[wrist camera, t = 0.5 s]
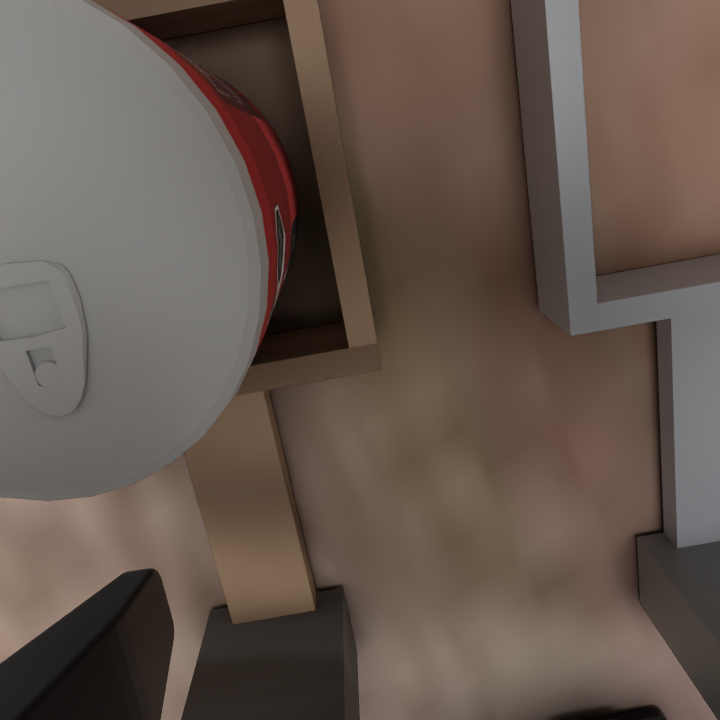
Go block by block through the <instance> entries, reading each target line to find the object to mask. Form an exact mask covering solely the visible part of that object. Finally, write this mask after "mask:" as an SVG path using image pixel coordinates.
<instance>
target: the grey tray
mask: <svg viewBox="0 0 720 720" xmlns="http://www.w3.org/2000/svg"><path fill="white" fill-rule="evenodd" d="M511 10H512V21H513V32H514V42H515V53H516V64H517V75H518V86H519V96H520V107H521V118H522V129H523V140H524V150H525V161H526V172H527V183H528V194H529V205H530V215H531V226H532V237H533V248H534V259H535V269H536V280H537V291H538V302H539V311H540V312H541V313H543V314H544V315H545V316H546V317H548V318H549V319H550V320H551V321H553V322H554V323H555V324H556V325H558V326H559V327H560V328H561V329H563V330H564V331H565V332H567V333H568V334H569V335H570V336H574V335H580V334H585V333H591V332H596V331H602V330H608V329H613V328H619V327H624V326H630V325H636V324H641V323H647V322H653V321H657V350H658V378H659V407H660V436H661V464H662V493H663V522H664V532H663V533H657V534H652V535H646V536H640V537H637V550H638V570H639V590H640V604H641V606H642V607H643V609H644V610H645V612H646V613H647V615H648V616H649V618H650V619H651V621H652V622H653V624H654V625H655V627H656V628H657V630H658V631H659V633H660V634H661V636H662V637H663V639H664V640H665V642H666V643H667V645H668V646H669V648H670V649H671V651H672V652H673V654H674V655H675V657H676V658H677V660H678V661H679V663H680V664H681V666H682V667H683V669H684V670H685V672H686V673H687V675H688V676H689V678H690V679H691V681H692V682H693V684H694V685H695V687H696V688H697V689H698V691H699V692H700V694H701V695H702V697H703V698H704V700H705V701H706V703H707V704H708V706H709V707H710V709H711V710H712V712H713V713H714V715H715V716H716V718H717V719H718V720H720V254H718V255H712V256H706V257H701V258H695V259H690V260H684V261H679V262H673V263H668V264H662V265H656V266H651V267H645V268H640V269H634V270H629V271H623V272H618V273H612V274H607V275H601V276H596V274H595V258H594V242H593V226H592V211H591V195H590V179H589V164H588V148H587V132H586V116H585V101H584V85H583V69H582V54H581V38H580V22H579V6H578V0H511Z"/></svg>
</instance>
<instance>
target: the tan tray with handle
mask: <svg viewBox="0 0 720 720" xmlns="http://www.w3.org/2000/svg"><path fill="white" fill-rule="evenodd" d="M91 1H93V2H95V3H96V4H98V5H100V6H102V7H103V8H105V9H107V10H110V11H112V12H114V13H116V14H117V15H119V16H121V17H122V18H124V19H126V20H127V21H129V22H131V23H133V24H134V25H136V26H138V27H139V28H141V29H143V30H144V31H146V32H148V33H150V34H151V35H153V36H155V37H156V38H158V39H160V40H163V39H168V38H174V37H179V36H184V35H189V34H195V33H200V32H205V31H211V30H216V29H221V28H226V27H232V26H237V25H242V24H247V23H253V22H258V21H263V20H268V19H274V18H279V17H284V16H286V18H287V23H288V29H289V34H290V39H291V45H292V50H293V55H294V60H295V66H296V71H297V76H298V81H299V87H300V92H301V97H302V102H303V108H304V113H305V118H306V123H307V129H308V134H309V139H310V145H311V150H312V155H313V160H314V166H315V171H316V176H317V181H318V187H319V192H320V197H321V202H322V208H323V213H324V218H325V224H326V229H327V234H328V239H329V245H330V250H331V255H332V260H333V266H334V271H335V276H336V281H337V287H338V292H339V297H340V302H341V308H342V313H343V318H344V322H340V323H335V324H329V325H324V326H318V327H312V328H307V329H301V330H296V331H290V332H285V333H279V334H274V335H268V336H264V337H263V339H262V341H261V343H260V345H259V347H258V350H257V352H256V354H255V356H254V358H253V361H252V363H251V365H250V367H249V369H248V371H247V373H246V375H245V377H244V379H243V382H242V384H241V386H240V388H239V390H238V392H237V393H236V395H235V396H234V397H233V399H232V400H231V401H230V402H229V404H228V405H227V406H226V408H225V409H224V410H223V412H222V413H221V414H220V415H219V417H218V418H217V419H216V421H215V422H214V423H213V425H212V426H211V427H210V428H209V429H208V430H207V432H206V433H205V434H204V436H203V437H202V438H200V439H199V440H198V441H197V442H196V443H195V444H193V445H192V446H191V447H190V448H189V449H187V450H186V451H185V452H184V456H185V460H186V463H187V467H188V470H189V474H190V477H191V481H192V484H193V487H194V491H195V494H196V498H197V501H198V505H199V508H200V512H201V515H202V519H203V522H204V526H205V529H206V533H207V536H208V539H209V543H210V546H211V550H212V553H213V557H214V560H215V564H216V567H217V571H218V574H219V578H220V581H221V585H222V588H223V591H224V595H225V598H226V602H227V605H228V607H227V608H221V609H216V610H211V611H210V615H209V618H208V622H207V626H206V630H205V633H204V637H203V641H202V644H201V648H200V652H199V656H198V659H197V663H196V667H195V670H194V674H193V678H192V682H191V685H190V689H189V693H188V696H187V700H186V704H185V707H184V711H183V715H182V719H181V720H360V715H359V691H358V668H357V651H356V646H355V641H354V637H353V632H352V628H351V623H350V619H349V614H348V610H347V605H346V601H345V596H344V591H343V588H338V589H332V590H326V591H320V592H316V589H315V585H314V581H313V577H312V572H311V568H310V564H309V560H308V555H307V551H306V547H305V543H304V538H303V534H302V530H301V526H300V521H299V517H298V513H297V509H296V504H295V500H294V496H293V492H292V487H291V483H290V479H289V475H288V470H287V466H286V462H285V458H284V453H283V449H282V445H281V441H280V436H279V432H278V428H277V424H276V419H275V415H274V411H273V407H272V402H271V398H270V394H269V390H272V389H277V388H283V387H288V386H294V385H300V384H305V383H311V382H316V381H322V380H328V379H333V378H339V377H344V376H350V375H356V374H361V373H367V372H372V371H378V370H382V367H381V361H380V355H379V350H378V344H377V338H376V333H375V327H374V321H373V315H372V310H371V304H370V298H369V293H368V287H367V281H366V275H365V270H364V264H363V258H362V253H361V247H360V241H359V236H358V230H357V224H356V218H355V213H354V207H353V201H352V196H351V190H350V184H349V179H348V173H347V167H346V161H345V156H344V150H343V144H342V139H341V133H340V127H339V121H338V116H337V110H336V104H335V99H334V93H333V87H332V82H331V76H330V70H329V64H328V59H327V53H326V47H325V42H324V36H323V30H322V25H321V19H320V13H319V7H318V2H317V0H91Z"/></svg>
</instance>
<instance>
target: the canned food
mask: <svg viewBox="0 0 720 720" xmlns="http://www.w3.org/2000/svg"><path fill="white" fill-rule="evenodd" d="M298 223H299V203H298V195H297V187H296V181H295V178H294V174H293V171H292V168H291V165H290V162H289V159H288V156H287V153H286V152H285V150H284V148H283V146H282V144H281V142H280V140H279V138H278V136H277V135H276V133H275V131H274V129H273V128H272V126H271V125H270V124H269V123H268V121H267V120H266V119H265V118H264V116H263V115H262V114H261V113H260V111H259V110H258V109H257V107H256V106H255V105H253V104H252V103H251V102H250V101H249V100H248V99H247V98H246V97H244V96H243V95H242V94H241V93H240V92H239V91H238V90H236V89H235V88H234V87H233V86H231V85H230V84H228V83H226V82H225V81H223V80H222V79H220V78H219V77H217V76H216V75H214V74H212V73H211V72H209V71H208V70H206V69H205V68H203V67H202V66H200V65H198V64H197V63H195V62H194V61H192V60H191V59H189V58H188V57H186V56H184V55H183V54H181V53H180V52H178V51H177V50H175V49H174V48H172V47H170V46H169V45H167V44H166V43H164V42H163V41H161V40H160V39H158V38H156V37H155V36H153V35H151V34H150V33H148V32H146V31H144V30H143V29H141V28H139V27H138V26H136V25H134V24H133V23H131V22H129V21H127V20H126V19H124V18H122V17H121V16H119V15H117V14H116V13H114V12H112V11H110V10H107V9H105V8H103V7H102V6H100V5H98V4H96V3H95V2H93V1H91V0H0V497H4V498H17V499H30V500H43V501H52V500H61V499H71V498H81V497H91V496H95V495H98V494H101V493H105V492H108V491H111V490H115V489H118V488H121V487H125V486H128V485H131V484H134V483H136V482H138V481H140V480H141V479H143V478H145V477H147V476H149V475H151V474H153V473H154V472H156V471H158V470H160V469H162V468H164V467H166V466H167V465H169V464H171V463H172V462H173V461H174V460H176V459H177V458H178V457H179V456H180V455H182V454H183V453H184V452H185V451H186V450H187V449H189V448H190V447H191V446H192V445H193V444H195V443H196V442H197V441H198V440H199V439H200V438H202V437H203V436H204V434H205V433H206V432H207V430H208V429H209V428H210V427H211V426H212V425H213V423H214V422H215V421H216V419H217V418H218V417H219V415H220V414H221V413H222V412H223V410H224V409H225V408H226V406H227V405H228V404H229V402H230V401H231V400H232V399H233V397H234V396H235V395H236V393H237V392H238V390H239V388H240V386H241V384H242V382H243V379H244V377H245V375H246V373H247V371H248V369H249V367H250V365H251V363H252V361H253V358H254V356H255V354H256V352H257V350H258V347H259V345H260V343H261V341H262V339H263V337H264V335H265V332H266V329H267V326H268V324H269V321H270V318H271V315H272V313H273V310H274V307H275V304H276V302H277V299H278V296H279V293H280V291H281V288H282V285H283V282H284V280H285V277H286V274H287V271H288V269H289V266H290V263H291V260H292V256H293V252H294V248H295V244H296V240H297V236H298Z"/></svg>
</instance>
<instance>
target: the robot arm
mask: <svg viewBox="0 0 720 720" xmlns="http://www.w3.org/2000/svg"><path fill="white" fill-rule="evenodd" d="M173 640H174V624H173V619H172V615H171V611H170V608H169V604H168V601H167V597H166V593H165V590H164V586H163V582H162V579H161V576H160V575H159V573H158V571H156V570H155V569H142V570H136V571H129V572H125V573H123V574H121V575H120V576H119V577H117V578H116V579H115V580H113V581H112V582H111V583H109V584H108V585H106V586H105V587H104V588H102V589H101V590H100V591H98V592H97V593H96V594H94V595H93V596H92V597H90V598H89V599H87V600H86V601H85V602H83V603H82V604H81V605H79V606H78V607H77V608H75V609H74V610H72V611H71V612H70V613H68V614H67V615H66V616H64V617H63V618H62V619H60V620H59V621H58V622H56V623H55V624H53V625H52V626H51V627H49V628H48V629H47V630H45V631H44V632H43V633H41V634H40V635H38V636H37V637H36V638H34V639H33V640H32V641H30V642H29V643H28V644H26V645H25V646H23V647H22V648H21V649H19V650H18V651H17V652H15V653H14V654H13V655H11V656H10V657H9V658H7V659H6V660H4V661H3V662H2V663H0V720H160V719H161V713H162V707H163V701H164V695H165V689H166V683H167V677H168V671H169V665H170V659H171V653H172V647H173ZM587 720H667V718H666V717H665V715H664V713H663V712H662V711H661V710H659V709H646V710H640V711H634V712H628V713H622V714H616V715H610V716H604V717H599V718H593V719H587Z"/></svg>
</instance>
